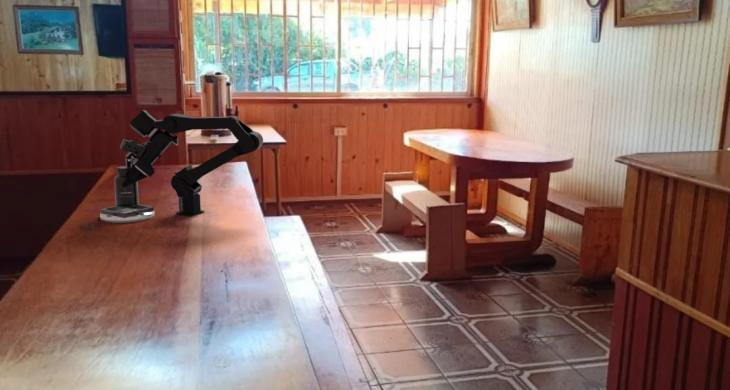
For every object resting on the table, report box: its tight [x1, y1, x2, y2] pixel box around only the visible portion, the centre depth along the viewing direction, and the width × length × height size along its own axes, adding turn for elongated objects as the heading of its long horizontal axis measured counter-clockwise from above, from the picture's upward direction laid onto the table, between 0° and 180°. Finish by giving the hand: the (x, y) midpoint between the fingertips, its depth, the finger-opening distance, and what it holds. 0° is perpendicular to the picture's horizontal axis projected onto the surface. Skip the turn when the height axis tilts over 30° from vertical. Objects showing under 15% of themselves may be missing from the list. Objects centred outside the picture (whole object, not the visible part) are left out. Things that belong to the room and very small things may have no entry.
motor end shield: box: [99, 203, 155, 224], centre depth 197 cm, size 16×16×3 cm
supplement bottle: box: [113, 165, 140, 207], centre depth 195 cm, size 7×7×12 cm
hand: (121, 184), depth 194 cm, fingers closed on supplement bottle, 7 cm apart
